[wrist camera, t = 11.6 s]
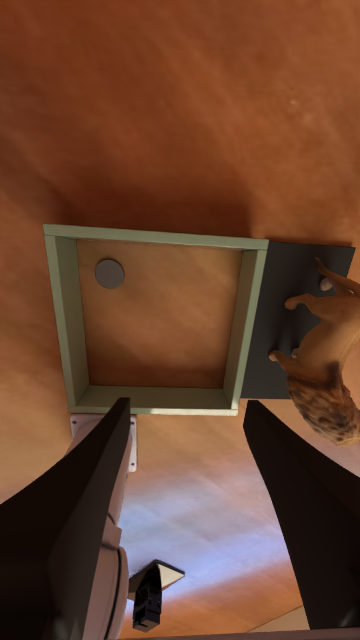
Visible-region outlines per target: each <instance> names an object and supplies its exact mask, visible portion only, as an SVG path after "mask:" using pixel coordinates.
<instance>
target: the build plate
mask: <svg viewBox="0 0 360 640" xmlns="http://www.w3.org/2000/svg"><path fill="white" fill-rule="evenodd" d="M184 576H185V573H184V572H182V571H179V570H177V569H175V568H173V567H170V566H168V565H166V564H164V563H161V562H159V561H154V562H153V563H152V564H150V565H149V566H148V567H146V568H145V569H143V570H142V571H141V572H139V573H138V574H136V575H135V576H134V577H132V578H131V579H130V580H129V585H128V595H127V599H130V600H133V601H134V610H133V629H137V630H140V631H143V632H148V631H149V630H151V629H153V628H154V627H156V626H157V625H159V624H160V614H161V605H162V591H163V590H165V589H166V588H168V587H169V586H171V585H172V584H174V583H175V582H177V581H178V580H180V579H181V578H183V577H184Z"/></svg>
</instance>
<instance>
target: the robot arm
mask: <svg viewBox="0 0 360 640" xmlns="http://www.w3.org/2000/svg"><path fill="white" fill-rule="evenodd" d="M70 423H71V430H72V438H73V441H72V443H71V445H70V447H69V448H68V450H67V452H66V454H65V456H64V457H63V458H62V459H61V460H60V461H59V462H57V463H56V464H55V465H54V466H53V467H51V468H50V469H49V470H48V471H46V472H45V473H44V474H43V475H41V476H40V477H39V478H37V479H36V480H35V481H33V482H32V483H31V484H29V485H28V486H26V487H25V488H24V489H22V490H21V491H20V492H18V493H17V494H15V495H14V496H12V497H11V498H9V499H8V500H6V501H5V502H3V503H2V504H0V640H360V477H358V476H356V475H355V474H353V473H351V472H350V471H348V470H347V469H345V468H343V467H342V466H340V465H339V464H337V463H336V462H334V461H333V460H331V459H330V458H328V457H327V456H325V455H324V454H323V453H321V452H320V451H318V450H317V449H315V448H314V447H313V446H311V445H310V444H309V443H307V442H306V441H305V440H304V439H302V438H301V437H300V436H299V435H297V434H296V433H295V432H294V431H292V430H291V429H290V428H289V427H288V426H287V425H285V424H284V423H283V422H282V421H281V420H280V419H279V418H277V417H276V416H275V415H274V414H273V413H272V412H271V411H270V410H268V409H267V408H266V407H265V406H264V405H263V404H262V403H260V402H259V401H258V400H248V403H247V408H246V413H245V418H244V423H243V429H244V432H245V436H246V439H247V442H248V445H249V447H250V450H251V452H252V454H253V457H254V459H255V462H256V464H257V466H258V468H259V471H260V473H261V475H262V478H263V480H264V482H265V485H266V487H267V490H268V492H269V495H270V497H271V500H272V503H273V506H274V509H275V512H276V515H277V518H278V521H279V524H280V527H281V530H282V533H283V537H284V540H285V543H286V546H287V549H288V553H289V556H290V559H291V563H292V566H293V570H294V573H295V576H296V580H297V583H298V587H299V591H300V594H301V598H302V601H303V605H304V608H305V612H306V616H307V620H308V624H309V627H310V630H296V631H275V632H255V633H234V634H213V635H192V636H172V637H151V638H130V639H118V638H119V635H120V631H121V627H122V623H123V619H124V614H125V609H126V603H127V595H128V585H129V571H128V563H127V556H126V552H125V550H124V549H123V548H122V547H120V546H119V543H120V537H121V532H122V529H120V528H118V527H117V525H118V522H119V517H120V512H121V507H122V502H123V497H124V492H125V488H126V483H127V478H128V473H129V472H134V471H136V469H137V422H136V416H135V415H131V410H130V397H120V398H118V399H117V401H116V402H115V403H114V405H113V406H112V407H111V409H110V410H109V411H108V412H107V413H106V414H72V415H71V417H70Z"/></svg>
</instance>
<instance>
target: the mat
mask: <svg viewBox="0 0 360 640" xmlns="http://www.w3.org/2000/svg"><path fill="white" fill-rule="evenodd" d="M355 249H356V248H355V247H342V246H327V245H313V244H299V243H285V242H271V241H269V243H268V248H267V253H266V259H265V264H264V270H263V275H262V281H261V286H260V292H259V297H258V303H257V308H256V313H255V319H254V324H253V330H252V335H251V341H250V346H249V352H248V357H247V362H246V368H245V373H244V379H243V384H242V390H241V395H240V398H253V399H291V397H290V396H289V393H288V391H289V390H288V388H287V386H286V380H287V376H288V373H287V372H286V371H285V370H284V369H283V368H282V367H281V365H280V364H279V362H278V361H272V360H271V359H269V357H268V355H269V353H270V352H272V351H274V350H276V351H281V352H283V354H284V355H285V356H287V357H289V358H292V356H291V353H292V351H293V349H295V348H299V346H300V344H301V341H302V340H303V338H304V337H305V335H306V334H307V333H308V332H309V331H310V330H311V329H312V328H314V327H315V326H316V325H318V324H320V322H321V319H320V318H319V317H318V316H316V315H314V314H312V313H311V311H310V310H309V309H308V308H307V306H306V305H305V304H303V303H299V304H297V306H296V308H295V309H293V310H289V309H286V308H285V307H284V303H285V301H286V300H288V299H289V298H291V297H297V296H300V295H303V294H307V293H308V294H311V295H312V296H314V297H328V296H336V292H335V290H334V288H333V286H332V287H331V288H330V289H329V290H326V291H323V290H322V289H321V288H320V283H321V281H322V280H323V279H325V278H327V276H325V275H323V274H321V273H320V272H319V271H318V270H317V269H316V268H315V266H314V261H315V258H319V259H320V262H321V263H323V265H324V267H325V268H326V269H328V270H329V271H330V272H332V273H335V274H337V275H340V276H343V277H345V278H347V274H348V271H349V268H350V265H351V262H352V258H353V255H354V252H355Z"/></svg>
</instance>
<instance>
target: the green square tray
mask: <svg viewBox="0 0 360 640" xmlns="http://www.w3.org/2000/svg"><path fill="white" fill-rule="evenodd" d="M43 231H44V234H45V235H44V238H45V245H46V253H47V260H48V267H49V274H50V281H51V289H52V296H53V303H54V310H55V317H56V325H57V332H58V339H59V346H60V354H61V361H62V368H63V375H64V382H65V390H66V397H67V404H68V412H69V413H107V412H108V411H109V410H110V409H111V407H112V406H113V405H114V403H115V402H116V401H117V399H118V398H120V397H130V410H131V414H174V415H231V416H237V412H238V406H239V401H240V395H241V390H242V384H243V379H244V373H245V368H246V362H247V357H248V352H249V346H250V341H251V335H252V330H253V324H254V319H255V313H256V308H257V303H258V297H259V292H260V286H261V281H262V275H263V270H264V264H265V259H266V253H267V248H268V243H269V240H268V239H256V238H242V237H228V236H214V235H200V234H186V233H172V232H158V231H144V230H129V229H115V228H101V227H87V226H73V225H59V224H45V223H44V224H43ZM76 240H85V241H100V242H115V243H130V244H145V245H160V246H174V247H189V248H204V249H219V250H234V251H243V256H242V263H241V269H240V276H239V283H238V290H237V296H236V303H235V310H234V316H233V323H232V330H231V337H230V343H229V350H228V357H227V363H226V370H225V377H224V384H223V389H214V388H175V387H135V386H95V385H89V375H88V364H87V354H86V343H85V332H84V322H83V311H82V301H81V290H80V279H79V269H78V258H77V247H76ZM95 276H96V279H97V281H98V282H99V284H100V285H102V286H103V287H105V288H108V289H114V288H117V287H119V286H120V285H121V284H122V283H123V281H124V271H123V268H122V267H121V266H120V264H118V263H117V262H115V261H113V260H104V261H101V262H100V263H99V264H98V265H97V267H96V270H95Z"/></svg>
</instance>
